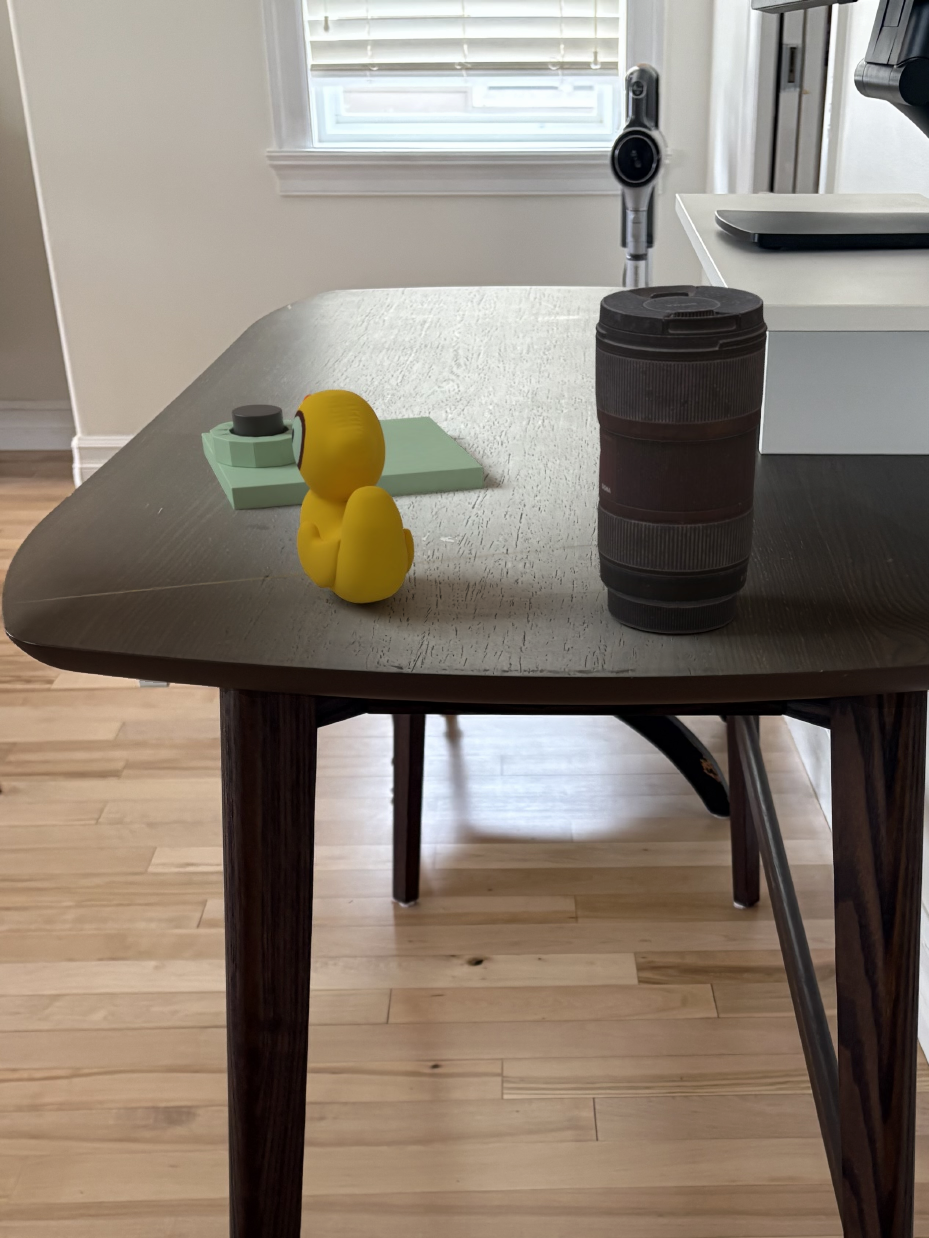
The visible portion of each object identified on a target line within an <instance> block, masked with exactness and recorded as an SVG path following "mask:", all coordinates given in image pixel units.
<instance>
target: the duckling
mask: <svg viewBox="0 0 929 1238" xmlns="http://www.w3.org/2000/svg"><path fill="white" fill-rule="evenodd" d="M379 420H380V419H379V417H378V415H377V414H376V412H375V410H374V408H373V407H372V406H371V404H370V403H369V402H368V401H367V400H365V399H364V397H362V396H361V395H359V394H358V393H355V392H353V391H350V390H346V389H326V390H321V391H317V392H314V393H312V394H307V395H305V396H304V398H303V400H302V401H301V403H300V404H299V406H298V408H297V410H296V412H295V415H294V418H293V420H292V421H293V426H292V446H293V453H294V457H295V461H296V464H297V467H298V469H299V472H300V474H301V476H302V477H303V479H304V481H305V482H306V484H307V485H308V487H309V488H310V490H309V491H308V493H307V494H306V496H305V498H304V500H303V503H302V504H301V508H300V514H299V515H300V516H299V528H298V530H297V535H296V548H297V554H298V559H299V563H300V564H301V567H302V569H303V571H304V573H305V575H306V576H307V577H308V578H309V579H310V580H311V581H312V582H313V583H314V584H315V585H316V586H318V588H322V589H326V588H327V589H329V590H330V591H331V592H333V593H334V594H335V595H337V596H338V597H339V598H341V599H343V600H345V601H347V602H350V603H355V604H366V603H367V604H368V603H374V602H379V601H383V600H385V599H387V598H390V597H392V596H394V594H396V593H398V591H399V590H400V588H401V587H402V586H403V584H404V582H405V579H406V577H407V574H408V573H409V572H410V570H411V568H412V566H413V563H414V559H415V558H414V557H415V542H414V537H413V533H412V531H411V530H410V529H409V528H406V527H405V528H404V523H403V519H402V515H401V512H400V510H399V508H398V506H397V504H396V502H395V500H394V499H393V496H390V494H389V493H388V492H387V491H385V490H384V489H382V488H380V487H376V486H375V485H376V484H377V482H378V481H379V479H380V477H381V475H382V472H383V468H384V464H385V453H386V451H385V440H384V434H383V431H382V427H381V424H380V422H379Z"/></svg>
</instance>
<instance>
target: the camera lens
mask: <svg viewBox="0 0 929 1238" xmlns="http://www.w3.org/2000/svg"><path fill="white" fill-rule="evenodd" d="M598 318H599V319H598V322H597V323H596V325H595V331H596V332H595V336H594V337H595V351H594V352H595V353H594V354H595V355H594V356H595V357H594V359H595V360H594V363H595V364H594V365H595V366H594V368H595V369H594V370H595V372H594V375H595V378H594V379H595V380H594V381H595V384H594V385H595V386H594V388H595V389H594V392H595V408H596V409H595V410H596V418H597V422H598V425H599V429H598V430H599V433H598V434H599V457H598V460H599V461H598V462H599V463H598V503H597V529H596V530H597V532H596V533H597V534H596V535H597V543H596V544H597V552H598V559H599V576H600V581H601V582H602V583H603V585H604V586H605V588H606V590H607V591H606V592H607V595H606V596H607V611H608V612H609V614H610V616H611V617H612V618H613V619H615V620H616V621H617V622H619V623H621V624H623V625H625V626H627V627H630V628H631V627H632V628H634V629H638V630H641V631H647V632H655V633H663V634H693V633H702V632H708V631H712V630H715V629H718V628H719V629H720V628H722V627H724V626H726V625H727V624H729V623H730V622H732V620H733V619H734V618H735V616H736V613H737V603H738V594H739V593H740V591H742V589H743V588H744V587H745V586H746V583H747V576H748V569H749V568H748V567H749V561H750V558H751V552H752V547H753V546H752V545H753V536H754V517H755V516H754V515H755V514H754V513H755V510H754V509H755V508H754V493H755V492H754V488H755V478H756V477H755V474H756V453H757V432H758V426H759V425H760V422H761V418H762V414H761V413H762V411H761V409H762V407H763V406H762V405H763V401H764V389H765V388H764V387H765V384H764V383H765V368H766V367H765V366H766V350H767V349H766V348H767V340H768V333H767V331H768V330H769V329H768V325H767V323H766V321H765V317H764V300H763V299H762V297H760V295H758V294H757V293H756V294H755V293H753V292H750V291H747V290H743V289H739V288H735V287H726V286H718V285H692V284H678V285H676V284H675V285H674V284H673V285H657V286H656V285H655V286H645V287H644V286H643V287H635V288H630V289H627V290H623V289H622V290H618V291H615V292H612V293H610V294H609V293H608V294H607V295H604V296H603V298H602V299H601V300H600V303H599V317H598Z"/></svg>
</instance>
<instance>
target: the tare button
mask: <svg viewBox="0 0 929 1238" xmlns="http://www.w3.org/2000/svg"><path fill="white" fill-rule="evenodd" d="M231 419H232V421H233V428H234V435H237V436H242V437H267V436H275V435H279V434H283V433H285V432H284V422H283V419H284V414H283V409H282V408H281V407H279V406H277V405H272V404H247V405H242V406H237V407H235V408H232V410H231Z"/></svg>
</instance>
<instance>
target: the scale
mask: <svg viewBox="0 0 929 1238" xmlns="http://www.w3.org/2000/svg"><path fill="white" fill-rule="evenodd" d="M293 421H294V420H292V419H286V418H283V422H284V432H285V433H283V434H279V435H275V436H267V437H242V436H237V435H234V428H233V420H231V421H227V422H222V423H219V424H218V425H216V426H214V427H213V428H211V429H210V430H209V432H202V433H201V437H202V438H201V441H202V449H203V454H204V456H205V457H206V460H207V462H208V463H209V466H210V467H211V469H212V471H213V473H214V475H215V477H216V479H217V480H218V482H219V484H220V486H221V488H222V490H223V492H224V493H225V496H226V498H227V499H228V501H229V503H230V505H231V507H232V510H234V511H236V510H248V509H260V508H273V507H283V506H284V507H285V506H294V505H295V506H297V505H302V503H303V500H304V498H305V496H306V494H307V493H308V491H309V490H310V488H309V487H308V485H307V484H306V482H305V481H304V479H303V477H302V476H301V474H300V472H299V469H298V467H297V464H296V461H295V457H294V453H293V446H292V426H293ZM379 422H380V424H381V427H382V431H383V434H384V440H385V451H386V453H385V464H384V468H383V472H382V475H381V477H380V479H379V481H378V482H377V484H376V485H375V486H376V487H380V488H382V489H384V490H385V491H387V492H388V493H389V494H390V496H391V497H396V496H398V497H399V496H407V495H408V496H409V495H410V496H411V495H418V494H419V495H420V494H431V493H442V492H454V491H465V490H477V489H484V488H485V486H484V484H485V483H484V467H483V466H482V464H480V463H479V462H478V461H477V460H476V459H475V458H474V457H473V456H472V455H471V454H470V453H469V452H468V451H467V450H465V448H464V447H462V446H461V445H460V444H459V443H458V442H457V441H456V440H455V439H454V438H453V437H451V435H450V434H448V433H447V432H446V430H444V429H443V428H442V427H441V426H440V424H438V423H437V422H436V421H435V420H434V419H433V418H431V416H429V415H428V416H416V417H402V418H391V419H379Z"/></svg>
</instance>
